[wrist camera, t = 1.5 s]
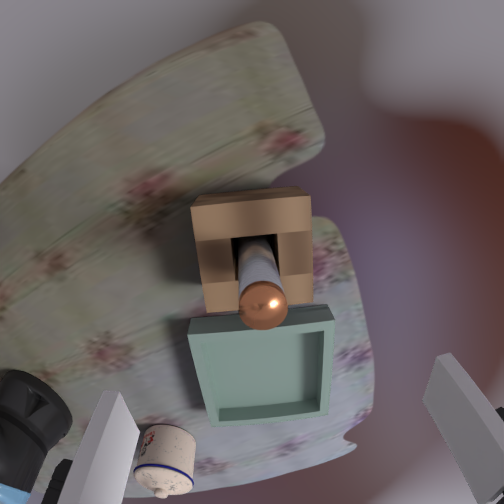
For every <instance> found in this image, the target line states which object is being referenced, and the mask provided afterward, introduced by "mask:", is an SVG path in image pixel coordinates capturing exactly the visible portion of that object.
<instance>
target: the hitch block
mask: <svg viewBox="0 0 504 504" xmlns="http://www.w3.org/2000/svg"><path fill="white" fill-rule="evenodd" d="M190 208H191V215H192V223H193V230H194V236H195V243H196V250H197V256H198V263H199V269H200V275H201V281H202V287H203V293H204V299H205V305H206V310H207V313H210V312H222V311H234V310H239V280H238V257H236V256H235V247H234V238H235V237H245V236H255V235H266V234H272V245H273V256H274V260H275V263H276V266H277V270H278V273H279V277H280V280H281V283H282V287H283V290H284V293H285V297H286V300H287V304H288V305H293V304H301V303H310V302H313V250H312V219H311V197H310V195H309V194H308V193H306V192H305V191H304V190H302V189H301V188H300V187H298V186H290V187H278V188H266V189H255V190H244V191H234V192H224V193H215V194H206V195H199V196H198V197H197V199H196V200H195V201H194V203H193V204H192V206H191V207H190Z"/></svg>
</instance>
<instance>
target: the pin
mask: <svg viewBox="0 0 504 504" xmlns="http://www.w3.org/2000/svg"><path fill="white" fill-rule="evenodd" d="M238 280H239V315H240V318H241V320H242V321H243V322H244V323H245V324H246V325H247V326H249V327H250V328H253V329H256V330H269V329H272V328H275V327H276V326H278V325H279V324H281V323H282V322H283V320H284V319H285V317H286V315H287V312H288V304H287V300H286V297H285V293H284V290H283V287H282V283H281V280H280V277H279V273H278V270H277V266H276V263H275V260H274V256H273V253H272V250H271V246H270V243H269V240H268V236H267V234H266V235H255V236H245V237H238Z"/></svg>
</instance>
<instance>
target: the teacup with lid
mask: <svg viewBox="0 0 504 504" xmlns="http://www.w3.org/2000/svg"><path fill="white" fill-rule="evenodd" d="M195 448H196V442H195V440H194V438H193V437H192V435H191V434H189V433H188V432H187V431H185V430H183V429H181V428H178V427H175V426H171V425H155V426H152V427H150V428H148V429H147V430H146V431H145V434H144V438H143V442H142V446H141V450H140V454H139V458H138V462H137V466H136V468H135V469H134V477H135V479H136V481H137V482H138V483H139V484H141V485H142V486H143V487H145V488H147V489H149V490H152V491H154V494H155V496H157V497H159V498H166V497H167V496H168V495H179V494H184V493H187V492H188V491H190V490H191V489H192V487H193V485H194V482H193V480H192V478H193V468H194V458H195Z"/></svg>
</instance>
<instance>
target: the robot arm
mask: <svg viewBox="0 0 504 504" xmlns="http://www.w3.org/2000/svg"><path fill="white" fill-rule="evenodd" d="M422 401H423V403H424V404H425V406H426V408H427V410H428V411H429V413H430V415H431V417H432V418H433V420H434V422H435V424H436V425H437V427H438V429H439V431H440V432H441V434H442V436H443V438H444V440H445V441H446V443H447V445H448V447H449V449H450V451H451V452H452V454H453V456H454V458H455V460H456V462H457V464H458V465H459V467H460V469H461V471H462V473H463V475H464V477H465V479H466V481H467V483H468V485H469V487H470V489H471V491H472V493H473V495H474V497H475V499H476V501H477V503H478V504H488V503H490V502H492V501H494V500H495V499H496V498H497V497H498V496H499V495H500V494H501V493H503V495H504V408H502V407H500V408H498V409H496V410H495V409H494V408H493V407H492V405H491V404H490V403H489V401H488V400H487V399H486V397H485V396H484V395H483V393H482V392H481V391H480V389H479V388H478V387H477V386H476V384H475V383H474V382H473V380H472V379H471V378H470V377H469V375H468V374H467V373H466V371H465V370H464V369H463V368H462V367H461V365H460V364H459V363H458V362H457V360H456V359H455V358H454V357H453V356H452V354H451V353H447V354H444V355H441V356H437V357H436V360H435V363H434V367H433V370H432V373H431V376H430V379H429V382H428V385H427V388H426V391H425V394H424V397H423V400H422ZM71 425H72V416H71V413H70V411H69V409H68V407H67V406H66V404H65V403H64V401H63V400H62V399H61V398H60V397H59V396H58V395H57V394H56V393H55V392H54V391H53V390H52V389H51V388H50V387H49V386H47V385H46V384H45V383H43V382H42V381H40V380H39V379H37V378H36V377H34V376H32V375H30V374H28V373H25V372H22V371H10V372H8V373H7V374H6V375H5V376H4V378H3V379H2V380H1V382H0V504H26V502H27V500H28V498H29V497H30V496H31V494H30V493H31V491H32V488H33V486H34V483H35V481H36V479H37V476H38V474H39V471H40V469H41V467H42V464H43V462H44V460H45V457H46V455H47V453H48V451H49V450H50V449H51V448H52V447H53V446H55V445H56V444H57V443H58V441H59V440H60V439H61V438H63V437H65V436H66V435H67V433H68V432H69V429H70V427H71ZM139 434H140V431H139V430H138V428H137V426H136V424H135V422H134V420H133V418H132V416H131V414H130V412H129V410H128V408H127V406H126V404H125V402H124V400H123V397H122V395H121V393H120V391H106V390H104V391H103V393H102V395H101V397H100V400H99V402H98V404H97V406H96V408H95V411H94V413H93V415H92V418H91V420H90V422H89V424H88V427H87V429H86V431H85V434H84V436H83V438H82V441H81V443H80V446H79V448H78V451H77V453H76V455H75V458H74V460H73V461H72V460H68V459H63V460H62V461H61V462H60V463H59V464H58V466H57V467H56V468H55V470H54V473H53V475H52V480H50V483H49V485H48V488H47V490H46V493H45V495H44V498H43V501H42V503H41V504H121V503H122V499H123V495H124V491H125V487H126V483H127V479H128V475H129V471H130V467H131V463H132V460H133V456H134V452H135V449H136V445H137V441H138V438H139ZM496 504H504V497H502V498H501V499H500V500H499V501H498V502H497V503H496Z"/></svg>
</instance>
